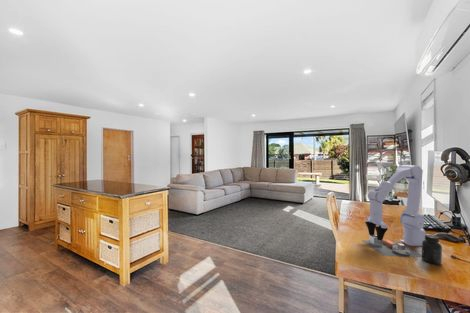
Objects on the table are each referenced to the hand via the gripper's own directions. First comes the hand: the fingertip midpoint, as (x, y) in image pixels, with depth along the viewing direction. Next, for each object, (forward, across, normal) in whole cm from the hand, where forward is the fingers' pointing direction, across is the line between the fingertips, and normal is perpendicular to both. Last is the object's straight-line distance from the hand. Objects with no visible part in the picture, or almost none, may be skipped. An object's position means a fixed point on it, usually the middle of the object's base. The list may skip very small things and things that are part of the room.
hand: (375, 237), depth 119 cm
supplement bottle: (+4, +19, +14) cm, 24 cm away
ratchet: (+4, +5, +7) cm, 9 cm away
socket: (+4, 0, 0) cm, 4 cm away
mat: (+4, +4, +6) cm, 8 cm away
